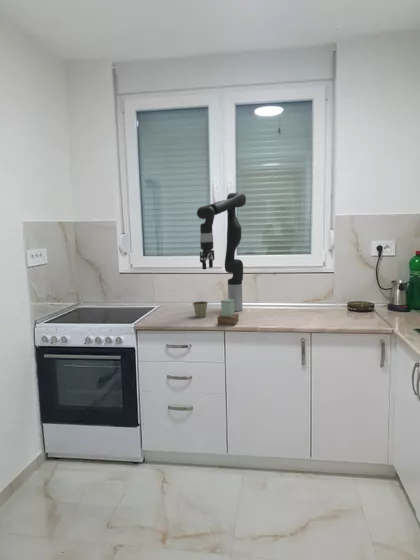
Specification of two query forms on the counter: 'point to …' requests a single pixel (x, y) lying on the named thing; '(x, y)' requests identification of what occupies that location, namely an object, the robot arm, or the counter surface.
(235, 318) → the walnut box
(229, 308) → the canister
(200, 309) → the flower pot
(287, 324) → the counter surface
